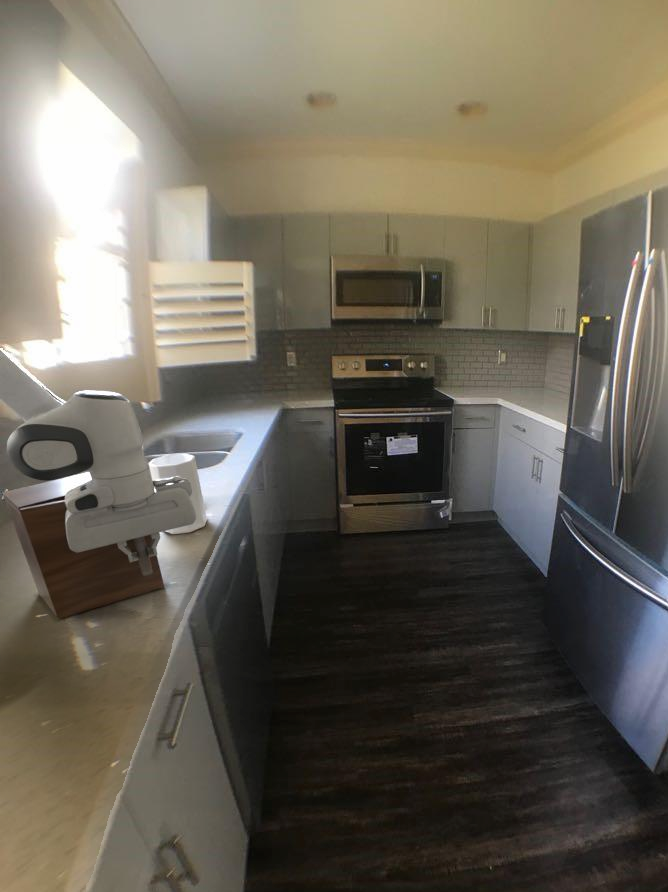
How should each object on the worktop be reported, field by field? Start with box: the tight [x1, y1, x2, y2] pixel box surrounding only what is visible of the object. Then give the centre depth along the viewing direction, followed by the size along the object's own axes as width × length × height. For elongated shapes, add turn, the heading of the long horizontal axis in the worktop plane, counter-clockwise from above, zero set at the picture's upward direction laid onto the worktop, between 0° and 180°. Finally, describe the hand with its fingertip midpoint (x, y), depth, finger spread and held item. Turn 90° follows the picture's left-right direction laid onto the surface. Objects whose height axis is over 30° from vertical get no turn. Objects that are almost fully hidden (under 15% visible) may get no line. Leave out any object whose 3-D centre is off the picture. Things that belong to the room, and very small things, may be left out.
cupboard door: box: [20, 500, 165, 620], centre depth 83 cm, size 8×18×22 cm, turn 123°
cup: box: [148, 453, 208, 535], centre depth 119 cm, size 11×11×18 cm
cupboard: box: [2, 471, 91, 617], centre depth 92 cm, size 12×18×22 cm, turn 139°
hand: (143, 557), depth 83 cm, fingers closed on cupboard door, 2 cm apart
